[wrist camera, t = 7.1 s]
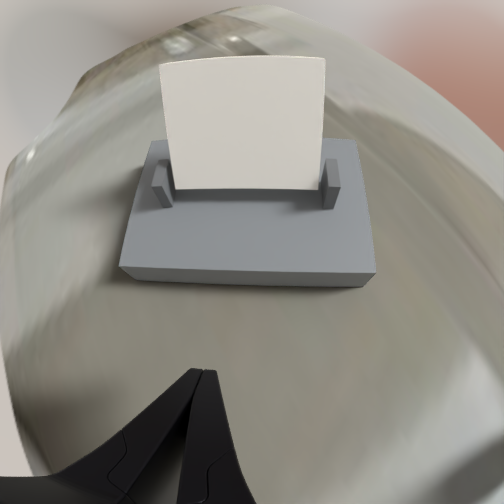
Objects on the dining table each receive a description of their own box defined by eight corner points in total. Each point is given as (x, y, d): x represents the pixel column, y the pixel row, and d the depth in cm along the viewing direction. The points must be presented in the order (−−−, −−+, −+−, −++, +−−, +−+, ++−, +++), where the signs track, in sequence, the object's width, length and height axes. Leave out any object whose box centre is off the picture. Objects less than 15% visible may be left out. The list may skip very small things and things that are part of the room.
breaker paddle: (317, 189, 20) (325, 58, 15) (175, 189, 21) (158, 65, 15) (314, 178, 22) (320, 57, 16) (182, 178, 22) (168, 62, 17)
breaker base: (363, 286, 22) (390, 257, 17) (135, 279, 23) (100, 250, 18) (348, 162, 27) (361, 117, 21) (161, 162, 28) (142, 119, 23)
